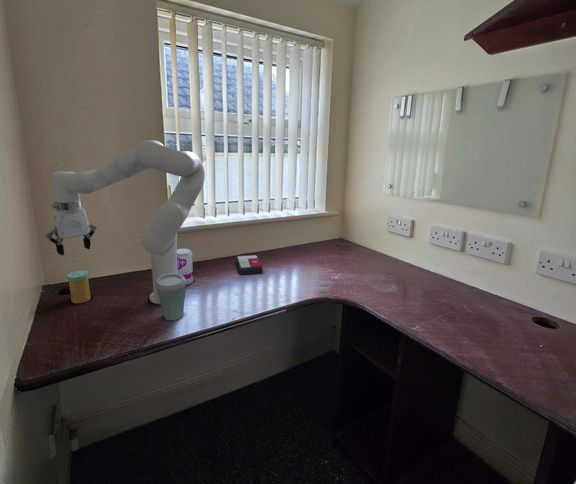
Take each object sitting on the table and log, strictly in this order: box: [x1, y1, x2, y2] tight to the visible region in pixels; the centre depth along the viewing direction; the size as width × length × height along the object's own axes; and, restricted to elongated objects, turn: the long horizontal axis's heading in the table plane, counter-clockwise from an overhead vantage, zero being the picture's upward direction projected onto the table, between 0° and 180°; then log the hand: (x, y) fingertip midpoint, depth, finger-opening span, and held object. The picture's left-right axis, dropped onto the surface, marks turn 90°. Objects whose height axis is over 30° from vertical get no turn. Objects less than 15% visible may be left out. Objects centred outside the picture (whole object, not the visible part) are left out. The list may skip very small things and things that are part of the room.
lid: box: [66, 270, 90, 282], centre depth 122 cm, size 7×7×2 cm
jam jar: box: [68, 277, 92, 304], centre depth 123 cm, size 6×6×10 cm
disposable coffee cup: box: [155, 273, 187, 321], centre depth 114 cm, size 11×11×15 cm
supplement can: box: [177, 247, 194, 286], centre depth 141 cm, size 8×8×15 cm
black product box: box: [236, 254, 263, 275], centre depth 162 cm, size 11×4×15 cm
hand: (74, 251), depth 119 cm, fingers open, 8 cm apart
